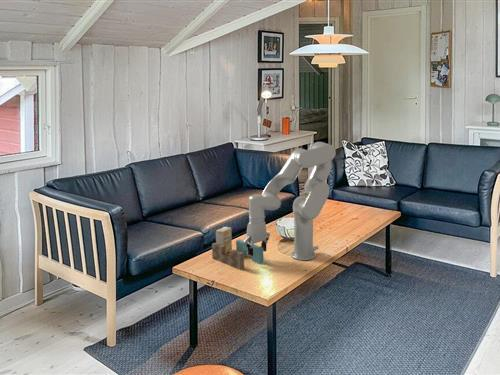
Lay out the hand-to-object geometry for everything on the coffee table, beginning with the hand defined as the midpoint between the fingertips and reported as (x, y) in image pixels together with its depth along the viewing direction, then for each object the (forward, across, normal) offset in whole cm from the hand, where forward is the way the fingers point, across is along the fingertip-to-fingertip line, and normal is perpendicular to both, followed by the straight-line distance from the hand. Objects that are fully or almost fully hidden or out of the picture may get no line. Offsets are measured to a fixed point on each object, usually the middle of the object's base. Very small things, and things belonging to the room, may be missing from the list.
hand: (257, 252), depth 253 cm
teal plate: (+5, 0, -6) cm, 8 cm away
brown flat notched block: (+5, +12, -9) cm, 16 cm away
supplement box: (+5, +3, -23) cm, 23 cm away
